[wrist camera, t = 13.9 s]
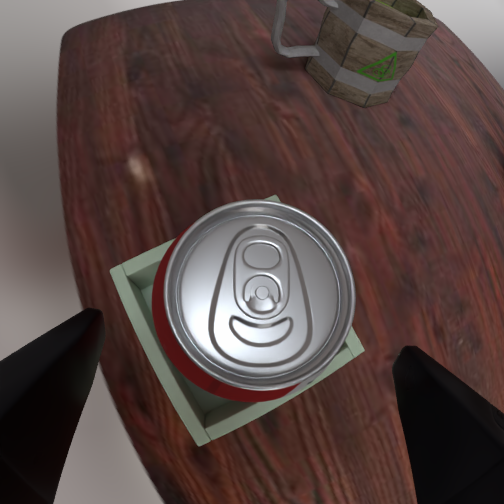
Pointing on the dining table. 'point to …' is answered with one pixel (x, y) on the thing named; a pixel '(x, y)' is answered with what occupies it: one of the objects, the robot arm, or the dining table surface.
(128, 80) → the dining table surface
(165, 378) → the bin
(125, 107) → the dining table surface
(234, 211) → the soda can
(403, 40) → the mug
